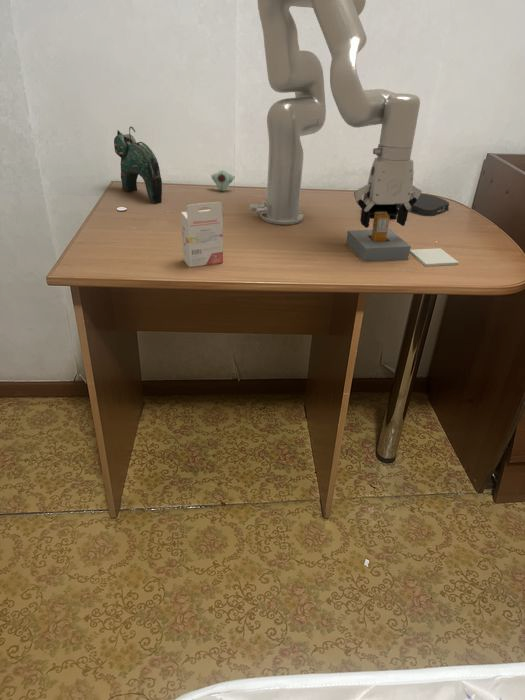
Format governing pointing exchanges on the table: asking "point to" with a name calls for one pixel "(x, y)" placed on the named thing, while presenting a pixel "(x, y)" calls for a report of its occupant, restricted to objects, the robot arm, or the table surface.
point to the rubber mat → (433, 257)
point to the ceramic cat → (138, 166)
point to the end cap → (384, 209)
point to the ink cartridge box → (202, 234)
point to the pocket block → (377, 246)
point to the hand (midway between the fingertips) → (382, 224)
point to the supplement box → (380, 227)
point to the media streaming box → (428, 205)
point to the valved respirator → (222, 179)
